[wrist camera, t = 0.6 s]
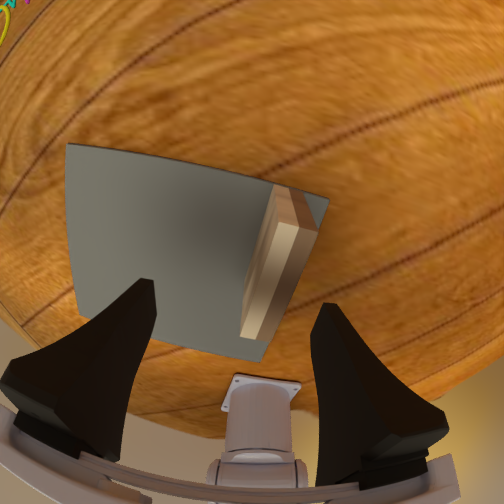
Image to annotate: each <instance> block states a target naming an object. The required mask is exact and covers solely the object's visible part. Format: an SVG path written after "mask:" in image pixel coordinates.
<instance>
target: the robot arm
mask: <svg viewBox="0 0 504 504" xmlns="http://www.w3.org/2000/svg"><path fill="white" fill-rule="evenodd" d="M156 317H157V308H156V298H155V288H154V280H151V279H145V278H140V279H138V280H137V281H136V282H135V283H134V284H133V285H131V286H130V287H129V288H128V289H127V290H126V291H125V292H124V293H123V294H121V295H120V296H119V297H118V298H117V299H116V300H115V301H113V302H112V303H111V304H110V305H109V306H108V307H106V308H105V309H104V310H103V311H101V312H100V313H99V314H98V315H96V316H95V317H94V318H93V319H91V320H90V321H89V322H87V323H86V324H84V325H83V326H81V327H80V328H78V329H77V330H75V331H74V332H72V333H71V334H69V335H67V336H65V337H63V338H62V339H60V340H58V341H56V342H55V343H53V344H51V345H48V346H46V347H44V348H42V349H40V350H37V351H35V352H33V353H30V354H28V355H25V356H22V357H19V358H16V359H12V360H11V361H10V363H9V365H8V367H7V369H6V370H5V372H4V374H3V376H2V377H1V380H0V389H1V391H2V392H3V393H4V395H5V396H6V397H8V399H9V400H10V401H11V402H12V403H13V404H14V405H15V406H16V407H17V408H18V409H19V411H18V413H17V415H16V414H15V413H14V412H12V411H11V410H10V409H8V408H6V407H5V406H3V405H2V404H0V464H1V465H2V466H3V467H4V468H6V469H7V470H9V471H10V472H11V473H12V474H14V475H15V476H17V477H18V478H19V479H21V480H22V481H24V482H25V483H26V484H28V485H29V486H31V487H32V488H34V489H35V490H37V491H39V492H40V493H42V494H44V495H45V496H47V497H48V498H50V499H52V500H53V501H55V502H57V503H59V504H152V498H151V497H148V496H146V495H143V494H141V493H140V492H139V491H136V490H134V489H131V488H128V487H125V486H122V485H120V484H117V483H114V482H112V481H111V479H113V480H116V481H119V482H122V483H125V484H128V485H132V486H135V487H139V488H142V489H146V490H150V491H154V492H158V493H162V494H167V495H172V496H177V497H182V498H188V499H195V500H201V501H207V504H311V503H321V502H325V503H324V504H450V503H452V502H454V501H456V500H458V499H460V497H461V495H460V490H459V485H458V480H457V476H456V471H455V467H454V463H453V459H452V455H451V454H450V453H449V454H447V455H444V456H441V457H439V458H435V459H433V460H430V461H428V462H426V459H425V457H426V456H428V455H429V452H428V448H429V447H430V446H432V445H433V444H435V443H436V442H438V441H439V440H441V439H442V438H443V437H444V436H445V435H446V434H447V433H448V432H449V426H448V422H447V419H446V416H445V413H444V411H442V410H440V409H439V408H437V407H435V406H434V405H432V404H430V403H429V402H427V401H426V400H424V399H423V398H421V397H420V396H419V395H417V394H416V393H414V392H413V391H412V390H411V389H409V388H408V387H407V386H406V385H405V384H403V383H402V382H401V381H400V380H399V379H398V378H397V377H396V376H395V375H393V374H392V373H391V372H390V371H389V370H388V369H387V367H386V366H385V365H384V364H383V363H382V362H381V361H380V360H379V359H378V358H377V357H376V356H375V354H374V353H373V352H372V351H371V350H370V348H369V347H368V346H367V345H366V343H365V342H364V341H363V339H362V338H361V337H360V336H359V334H358V333H357V331H356V330H355V329H354V327H353V326H352V325H351V323H350V322H349V320H348V319H347V318H346V316H345V315H344V313H343V312H342V311H341V309H340V308H339V306H338V305H337V304H334V303H324V302H323V305H322V307H321V310H320V312H319V315H318V317H317V319H316V322H315V324H314V327H313V329H312V331H311V334H310V342H311V358H312V364H313V370H314V376H315V382H316V389H317V395H318V403H319V453H318V467H317V475H316V483H315V487H308V474H307V467H306V464H305V463H304V462H302V461H301V459H296V460H295V459H294V452H292V437H291V416H290V401H291V400H292V399H293V397H294V396H295V395H296V393H297V392H298V391H299V389H300V388H301V383H297V382H289V381H281V380H273V379H266V378H260V377H253V376H247V375H241V374H235V375H234V377H233V379H232V382H231V384H230V387H229V389H228V392H227V394H226V396H225V399H224V401H223V404H222V406H221V410H222V411H226V412H228V418H227V428H226V439H225V452H222V454H221V459H216V460H215V461H214V462H212V463H211V464H210V466H209V468H208V471H207V477H206V484H203V483H196V482H190V481H184V480H179V479H173V478H169V477H164V476H160V475H155V474H151V473H147V472H144V471H140V470H136V469H133V468H129V467H126V466H123V465H120V464H116V463H115V462H117V461H119V460H120V452H121V442H122V434H123V428H124V421H125V416H126V411H127V406H128V402H129V397H130V393H131V389H132V385H133V382H134V378H135V375H136V373H137V370H138V368H139V365H140V363H141V360H142V358H143V355H144V353H145V350H146V348H147V345H148V343H149V340H150V338H151V335H152V332H153V328H154V325H155V321H156ZM109 478H110V479H109Z"/></svg>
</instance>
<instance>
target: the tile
mask: <svg viewBox="0 0 504 504" xmlns="http://www.w3.org/2000/svg"><path fill="white" fill-rule="evenodd" d="M318 233H319V232H318V229H317V226H316V224H315V221H314V219H313V216H312V214H311V211H310V209H309V206H308V204H307V202H306V199H305V197H304V194H303V192H300V191H297V190H293V189H290V188H286V187H283V186H279V185H275V184H274V185H273V189H272V192H271V195H270V199H269V202H268V205H267V208H266V212H265V215H264V218H263V222H262V225H261V228H260V231H259V235H258V238H257V241H256V245H255V248H254V251H253V254H252V258H251V261H250V264H249V268H248V271H247V274H246V277H245V282H244V293H243V305H242V316H241V327H240V337H244V338H249V339H254V340H260V341H265V342H271V340H272V338H273V336H274V334H275V332H276V330H277V328H278V326H279V323H280V321H281V319H282V317H283V315H284V313H285V310H286V308H287V306H288V304H289V301H290V299H291V297H292V295H293V292H294V290H295V288H296V286H297V283H298V281H299V279H300V276H301V274H302V272H303V269H304V267H305V265H306V262H307V260H308V258H309V255H310V253H311V250H312V248H313V246H314V243H315V241H316V238H317V236H318Z"/></svg>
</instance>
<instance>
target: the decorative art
mask: <svg viewBox="0 0 504 504" xmlns="http://www.w3.org/2000/svg"><path fill="white" fill-rule="evenodd" d="M25 1H26V4H29V2H30V0H25ZM8 3H9V5H10V6H11V7H12V8H15V5H16V0H13V2H12V1H11V0H8V1H7V2H6V3H5V4H4V5H0V12H1V11H2V10H4V12H5V14H6V24H5V28H4V31H3V34H2V36H1V39H0V46H1V45H2V43H3V41H4V39H5V36H6V34H7V31H8V28H9V24H10V16H11V15H10V10H9V8H8V7H7V6H6V5H7V4H8Z"/></svg>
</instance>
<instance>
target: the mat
mask: <svg viewBox="0 0 504 504" xmlns="http://www.w3.org/2000/svg"><path fill="white" fill-rule="evenodd" d="M274 184H275V185H279V186H283V187H286V188H290V189H293V190H297V191H300V192H303V194H304V197H305V199H306V202H307V204H308V206H309V209H310V211H311V214H312V216H313V219H314V221H315V224H316V226H317V229H319V227H320V224H321V222H322V219H323V217H324V214H325V212H326V209H327V206H328V204H329V201H330V200H329V198H326V197H322V196H319V195H316V194H313V193H309V192H306V191H302V190H299V189H296V188H292V187H288V186H285V185H281V184H278V183H274V182H270V181H266V180H263V179H259V178H255V177H251V176H247V175H243V174H239V173H235V172H231V171H226V170H222V169H218V168H213V167H209V166H204V165H200V164H195V163H190V162H185V161H181V160H176V159H170V158H165V157H160V156H154V155H149V154H143V153H137V152H131V151H125V150H118V149H111V148H104V147H97V146H89V145H81V144H73V143H68V144H66V159H65V203H66V222H67V235H68V246H69V254H70V262H71V270H72V276H73V283H74V289H75V294H76V299H77V305H78V309H79V314H80V315H81V316H84V317H87V318H90V319H93V318H94V317H95V316H96V315H98V314H99V313H100V312H101V311H103V310H104V309H105V308H106V307H108V306H109V305H110V304H111V303H112V302H113V301H115V300H116V299H117V298H118V297H119V296H120V295H121V294H123V293H124V292H125V291H126V290H127V289H128V288H129V287H130V286H131V285H133V284H134V283H135V282H136V281H137V280H138V279H140V278H145V279H151V280H154V288H155V298H156V308H157V317H156V321H155V325H154V328H153V332H152V335H151V338H152V339H156V340H159V341H163V342H167V343H170V344H174V345H178V346H182V347H186V348H190V349H194V350H199V351H203V352H208V353H212V354H217V355H222V356H226V357H231V358H237V359H242V360H247V361H253V362H259V363H260V361H261V359H262V357H263V355H264V353H265V351H266V349H267V346H268V344H269V342H265V341H260V340H254V339H249V338H244V337H240V327H241V316H242V305H243V293H244V282H245V277H246V274H247V271H248V268H249V264H250V261H251V258H252V254H253V251H254V248H255V245H256V241H257V238H258V235H259V231H260V228H261V225H262V222H263V218H264V215H265V212H266V208H267V205H268V202H269V199H270V195H271V192H272V189H273V185H274Z"/></svg>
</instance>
